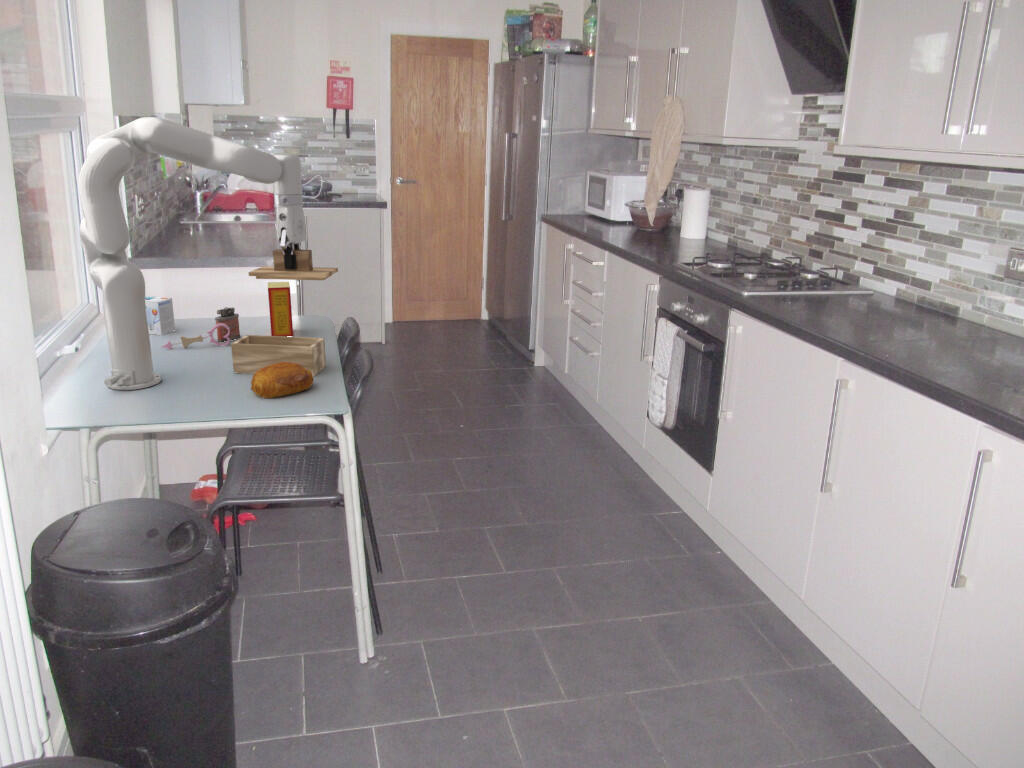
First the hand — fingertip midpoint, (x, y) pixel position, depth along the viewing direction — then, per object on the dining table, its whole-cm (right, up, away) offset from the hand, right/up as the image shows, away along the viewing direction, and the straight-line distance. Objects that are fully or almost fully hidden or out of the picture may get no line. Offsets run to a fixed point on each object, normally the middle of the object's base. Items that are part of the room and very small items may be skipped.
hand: (293, 267), depth 227 cm
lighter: (-26, -19, +23) cm, 40 cm away
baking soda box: (-12, -17, +32) cm, 38 cm away
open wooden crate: (-2, -29, -6) cm, 29 cm away
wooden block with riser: (0, -2, +1) cm, 2 cm away
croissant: (+3, -34, -22) cm, 41 cm away
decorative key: (-33, -22, +15) cm, 42 cm away
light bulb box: (-52, -16, +32) cm, 63 cm away
